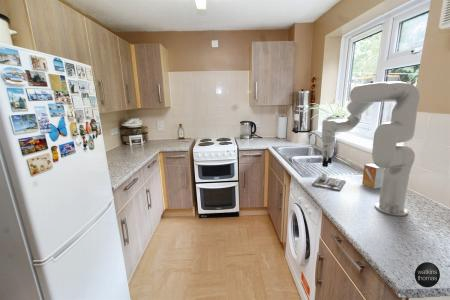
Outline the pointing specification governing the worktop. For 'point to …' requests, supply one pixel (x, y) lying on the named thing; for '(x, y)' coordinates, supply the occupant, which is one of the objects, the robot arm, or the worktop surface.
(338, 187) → the switch unit
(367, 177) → the small box
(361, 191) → the worktop surface
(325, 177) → the switch
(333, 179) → the switch
